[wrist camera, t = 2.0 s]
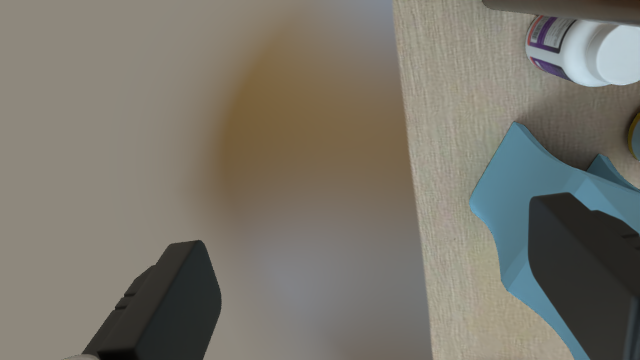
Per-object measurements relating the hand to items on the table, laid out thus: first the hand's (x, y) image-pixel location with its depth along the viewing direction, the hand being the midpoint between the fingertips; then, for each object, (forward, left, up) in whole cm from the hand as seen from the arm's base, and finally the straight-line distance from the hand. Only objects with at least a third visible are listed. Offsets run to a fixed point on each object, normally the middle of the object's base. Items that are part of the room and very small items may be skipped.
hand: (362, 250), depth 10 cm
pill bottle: (+6, +16, -29) cm, 34 cm away
